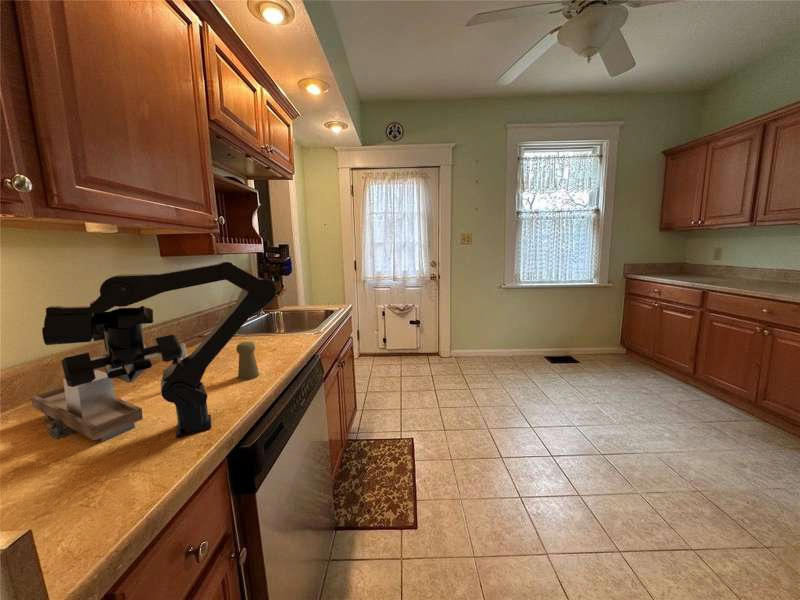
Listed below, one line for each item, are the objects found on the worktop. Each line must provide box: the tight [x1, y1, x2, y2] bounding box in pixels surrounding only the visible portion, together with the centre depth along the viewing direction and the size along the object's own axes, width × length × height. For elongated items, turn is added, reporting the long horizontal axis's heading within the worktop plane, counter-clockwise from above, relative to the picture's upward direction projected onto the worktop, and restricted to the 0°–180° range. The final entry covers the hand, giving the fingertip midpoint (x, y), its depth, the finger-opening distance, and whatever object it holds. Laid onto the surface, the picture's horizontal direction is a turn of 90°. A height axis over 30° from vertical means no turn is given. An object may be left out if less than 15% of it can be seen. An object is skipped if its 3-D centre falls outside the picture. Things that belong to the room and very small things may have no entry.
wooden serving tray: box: [30, 386, 144, 441], centre depth 74 cm, size 26×9×3 cm, turn 67°
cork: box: [236, 341, 260, 381], centre depth 99 cm, size 6×6×11 cm
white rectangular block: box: [62, 369, 116, 420], centre depth 72 cm, size 6×6×8 cm
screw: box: [179, 342, 189, 360], centre depth 93 cm, size 13×5×5 cm
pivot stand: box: [44, 414, 136, 443], centre depth 74 cm, size 25×13×3 cm, turn 67°
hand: (129, 380), depth 72 cm, fingers closed
